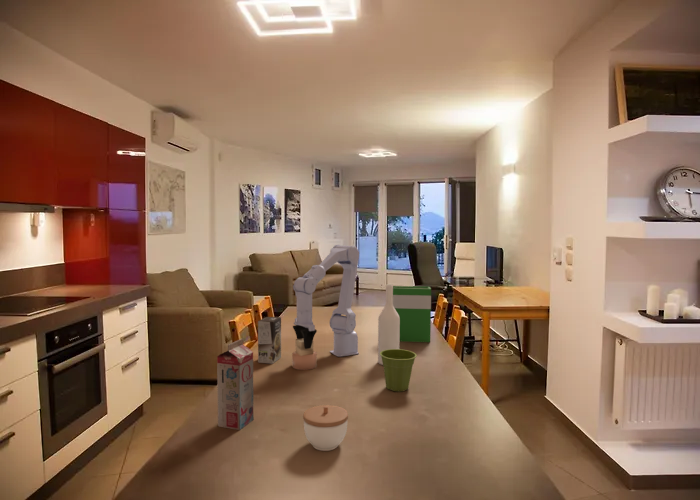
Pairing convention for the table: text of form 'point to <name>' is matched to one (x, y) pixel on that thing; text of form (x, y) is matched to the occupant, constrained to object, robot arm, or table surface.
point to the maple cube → (303, 348)
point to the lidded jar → (325, 426)
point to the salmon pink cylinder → (304, 361)
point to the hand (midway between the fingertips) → (304, 346)
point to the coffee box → (269, 339)
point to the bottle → (388, 325)
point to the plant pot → (397, 368)
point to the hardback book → (413, 312)
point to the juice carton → (235, 386)
